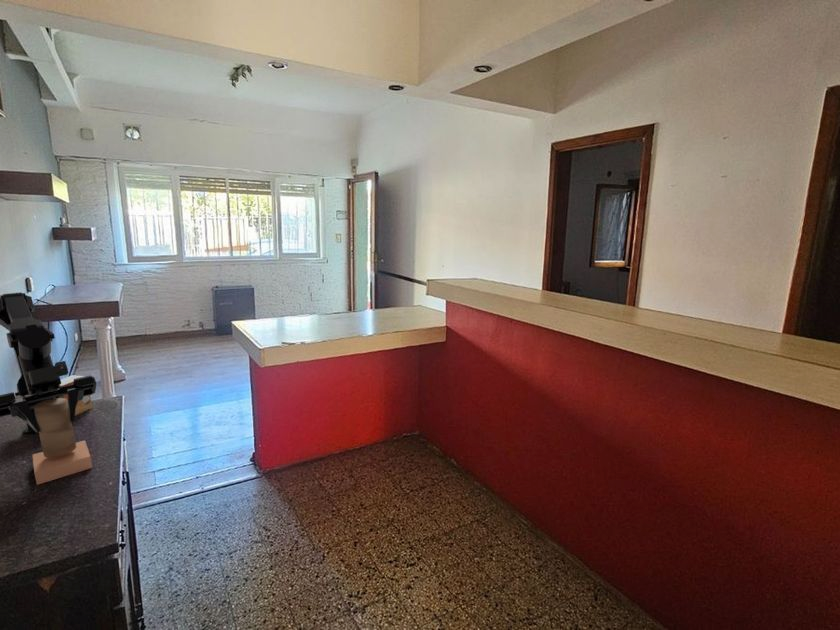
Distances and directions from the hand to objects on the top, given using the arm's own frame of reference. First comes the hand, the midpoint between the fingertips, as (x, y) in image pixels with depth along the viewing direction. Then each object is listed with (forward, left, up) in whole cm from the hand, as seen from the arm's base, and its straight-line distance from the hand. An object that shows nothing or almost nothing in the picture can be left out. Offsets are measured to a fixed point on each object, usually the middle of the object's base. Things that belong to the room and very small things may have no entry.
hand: (56, 427), depth 100 cm
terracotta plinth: (-1, -1, -11) cm, 11 cm away
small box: (-33, -15, -11) cm, 38 cm away
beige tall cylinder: (-1, -1, -7) cm, 7 cm away
